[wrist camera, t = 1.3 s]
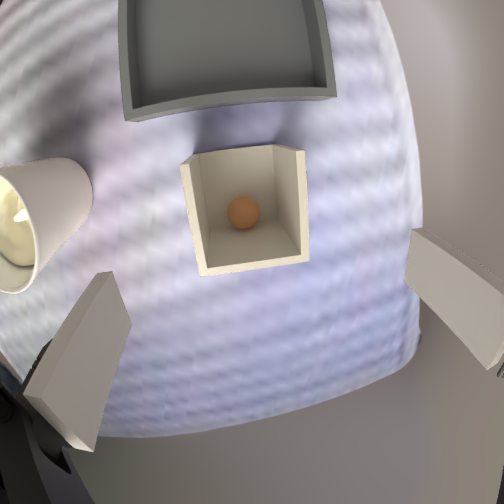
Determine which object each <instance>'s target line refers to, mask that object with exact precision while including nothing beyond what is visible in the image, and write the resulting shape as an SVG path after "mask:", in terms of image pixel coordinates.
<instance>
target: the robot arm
mask: <svg viewBox="0 0 504 504" xmlns="http://www.w3.org/2000/svg"><path fill="white" fill-rule="evenodd" d="M1 2H2V0H0V4H1ZM404 282H405V283H406V284H407V285H408V286H409V287H410V288H411V289H412V290H413V291H414V292H415V293H416V294H417V295H418V296H419V297H420V298H421V299H422V300H424V302H425V303H426V304H427V305H428V306H429V307H430V308H431V309H432V310H433V311H434V312H435V313H436V314H437V315H438V316H439V317H440V318H441V319H442V320H443V321H444V322H445V323H446V324H447V325H448V327H450V329H451V330H452V331H453V332H454V333H455V334H456V335H457V336H458V337H459V339H460V340H461V341H462V342H463V343H464V344H465V345H466V346H467V347H468V348H469V350H470V351H471V352H472V353H473V354H474V356H475V357H476V358H477V359H478V360H479V361H480V363H481V364H482V365H483V366H484V367H485V369H486V370H488V369H489V368H491V367H492V366H494V365H495V364H497V363H498V362H499V360H500V358H501V357H502V355H503V353H504V282H503V281H502V280H500V279H499V278H498V277H497V276H495V275H494V274H493V273H491V272H490V271H488V270H487V269H486V268H484V267H483V266H481V265H480V264H479V263H477V262H476V261H474V260H473V259H471V258H470V257H468V256H467V255H466V254H464V253H463V252H461V251H460V250H458V249H456V248H455V247H454V246H452V245H450V244H449V243H447V242H446V241H444V240H443V239H441V238H439V237H438V236H436V235H435V234H433V233H431V232H430V231H428V230H426V229H425V228H416V229H411V236H410V245H409V252H408V259H407V266H406V272H405V278H404ZM131 326H132V322H131V320H130V318H129V315H128V313H127V310H126V308H125V305H124V302H123V300H122V297H121V294H120V292H119V289H118V286H117V283H116V281H115V278H114V275H113V272H112V271H110V272H103V273H97V274H96V276H95V277H94V278H93V280H92V281H91V282H90V284H89V285H88V287H87V288H86V289H85V291H84V292H83V294H82V295H81V297H80V298H79V299H78V301H77V302H76V304H75V305H74V307H73V308H72V310H71V311H70V313H69V314H68V316H67V317H66V319H65V321H64V322H63V324H62V325H61V327H60V328H59V330H58V332H57V333H56V335H55V337H54V338H53V339H51V340H50V341H49V342H48V343H47V344H46V345H45V346H44V347H43V348H42V350H41V352H40V353H39V355H38V357H37V360H35V362H34V364H33V365H32V369H30V371H29V373H28V374H27V376H26V378H25V380H24V382H23V384H22V386H21V388H20V390H19V392H18V394H17V396H16V398H15V397H14V396H13V394H12V393H11V392H10V391H9V389H8V388H7V387H6V386H5V384H4V383H3V382H2V381H1V380H0V504H95V503H94V501H93V500H92V498H91V496H90V495H89V493H88V491H87V489H86V488H85V486H84V484H83V482H82V480H81V478H80V476H79V475H78V473H77V471H76V469H75V467H74V465H73V462H72V460H71V458H70V456H69V454H68V452H67V451H66V449H65V448H64V447H63V443H64V439H65V440H66V441H67V442H68V443H69V444H71V445H72V446H73V447H74V448H76V449H81V450H86V451H91V452H94V448H95V443H96V439H97V435H98V431H99V427H100V423H101V420H102V416H103V412H104V409H105V405H106V402H107V398H108V395H109V391H110V388H111V385H112V381H113V378H114V375H115V372H116V369H117V366H118V363H119V360H120V357H121V354H122V351H123V348H124V345H125V342H126V340H127V337H128V334H129V331H130V328H131ZM503 370H504V363H503V365H502V366H501V368H500V370H499V371H498V373H497V377H499V376H500V375H501V373H502V372H503ZM502 378H504V374H503V376H502ZM503 468H504V467H503ZM496 504H504V469H503V475H502V480H501V485H500V490H499V495H498V499H497V503H496Z"/></svg>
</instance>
